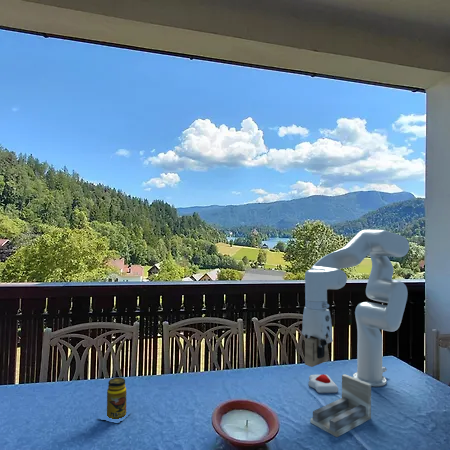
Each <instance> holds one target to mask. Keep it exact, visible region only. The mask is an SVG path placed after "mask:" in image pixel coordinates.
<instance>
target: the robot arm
mask: <svg viewBox="0 0 450 450" xmlns="http://www.w3.org/2000/svg"><path fill="white" fill-rule="evenodd" d="M409 250H410V244H409V241H408V239H407V238H406V237H405V236H403V235H400V234H398V233H396V232H391V231H389V230H385V229H363V230H361V231H359V232H357V233H356V234H355V235H354V237H352V238H351V239H350V240H349V241H348V242H347V244H345V246H343V247H342V248H340V249H338V250H334V251H333V252H331V253H328V254H325V255H324V256H322V257H321V258H320V259H318V260H317V261H316V262H315V263H314V264H313V265H312V267H311V268H310V269H307V270H306V271H305V272H304V273H305V274H304V279H305V280H304V286H305V287H304V293H305V297H304V299H305V305H304V308H303V314H302V324H301V325H302V329H301V334H302V335H303V336H304V339H306V338H310V337H316V338H318V346H319V347H317V357H318V358H319V359H320V358H322V357H324V355H325V346H326V345H327V344H328V345H329V344H330V343H332V342H333V337H332V336H333V326H332V325H333V324H332V323H333V322H332V317H331V311H330V309H329V308H330V304H329V303H328V290H339V289H342V288H344V287H345V285H346V283H347V280H348V277H347V274H346V272H345V271H344V270H342V269H347V268H352V267H356V266H358V265H360V264H361V263H362V262H363V261H364V259H365V258H367V256H368V255H369V257H370V259H371V268H370V269H371V270H370V272H369V273H370V274H369V277H368V281H367V284H366V286H365V287H366V288H365V295H366V297H367V298H368V299H370V300H373V301H376V302H380V303H386V304H387V305H386V304H385V305H384V304H380V303H376V302H370V301H363V302H359V303H358V304H357V306H356V307H355V311H354V315H355V322H356V329H357V349H356V350H357V351H356V352H357V353H356V355H357V356H356V359H357V362H356V363H357V365H356V367H357V369H356V372H355V373H353V374H352V377H354V378H356V379H359V380H361V381H364V382H367V383H369V384H371V387H377V388H378V387H383V386H385V385H386V384H387V378H386V377H385V376H383V373H385V372H387V370H388V369H387V368H386V366H383V344H384V343H383V335H382V332H381V330H383V331H386V332H390V333H391V332H395V331H397V330H398V329H400V326H401V323H402V320H403V316H404V312H405V308H406V304H407V302H408V295H409V294H408V293H409V292H408V287H407V285H406V284H405V283H404V282H403V281H400V280H398V279H397V280H396V279H393V275H394V266H393V263H392V262H391V260H390V259H389V257H394V258H402V257H405V256H406V255H407V254H408V252H409ZM325 336H326V337H325ZM326 338H327V340H326Z"/></svg>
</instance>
